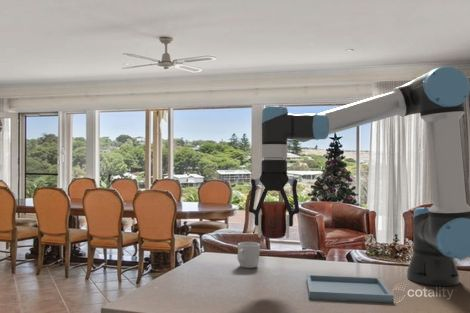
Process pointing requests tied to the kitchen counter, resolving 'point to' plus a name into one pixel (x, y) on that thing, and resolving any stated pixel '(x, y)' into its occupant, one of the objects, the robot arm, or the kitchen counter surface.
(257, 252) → the cup
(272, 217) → the mug
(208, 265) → the kitchen counter surface
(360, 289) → the tray
